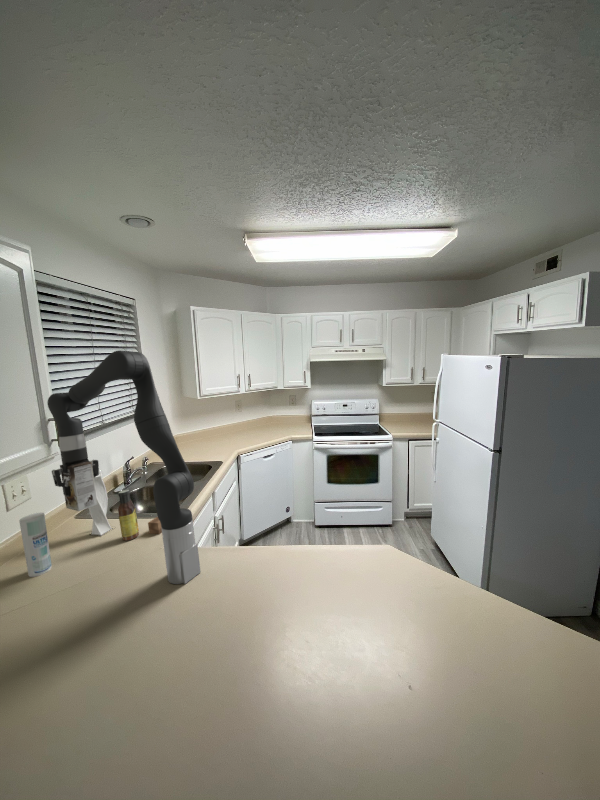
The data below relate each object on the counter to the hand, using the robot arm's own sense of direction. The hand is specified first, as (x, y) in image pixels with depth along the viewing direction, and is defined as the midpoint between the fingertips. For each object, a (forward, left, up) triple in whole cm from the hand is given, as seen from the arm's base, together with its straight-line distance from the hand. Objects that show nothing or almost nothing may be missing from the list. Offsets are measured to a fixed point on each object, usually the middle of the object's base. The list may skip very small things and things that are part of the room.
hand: (80, 492), depth 107 cm
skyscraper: (+19, -14, -26) cm, 35 cm away
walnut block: (-6, -24, -26) cm, 36 cm away
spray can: (+10, +11, -26) cm, 30 cm away
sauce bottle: (+1, -16, -26) cm, 30 cm away
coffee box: (0, 0, -5) cm, 5 cm away
